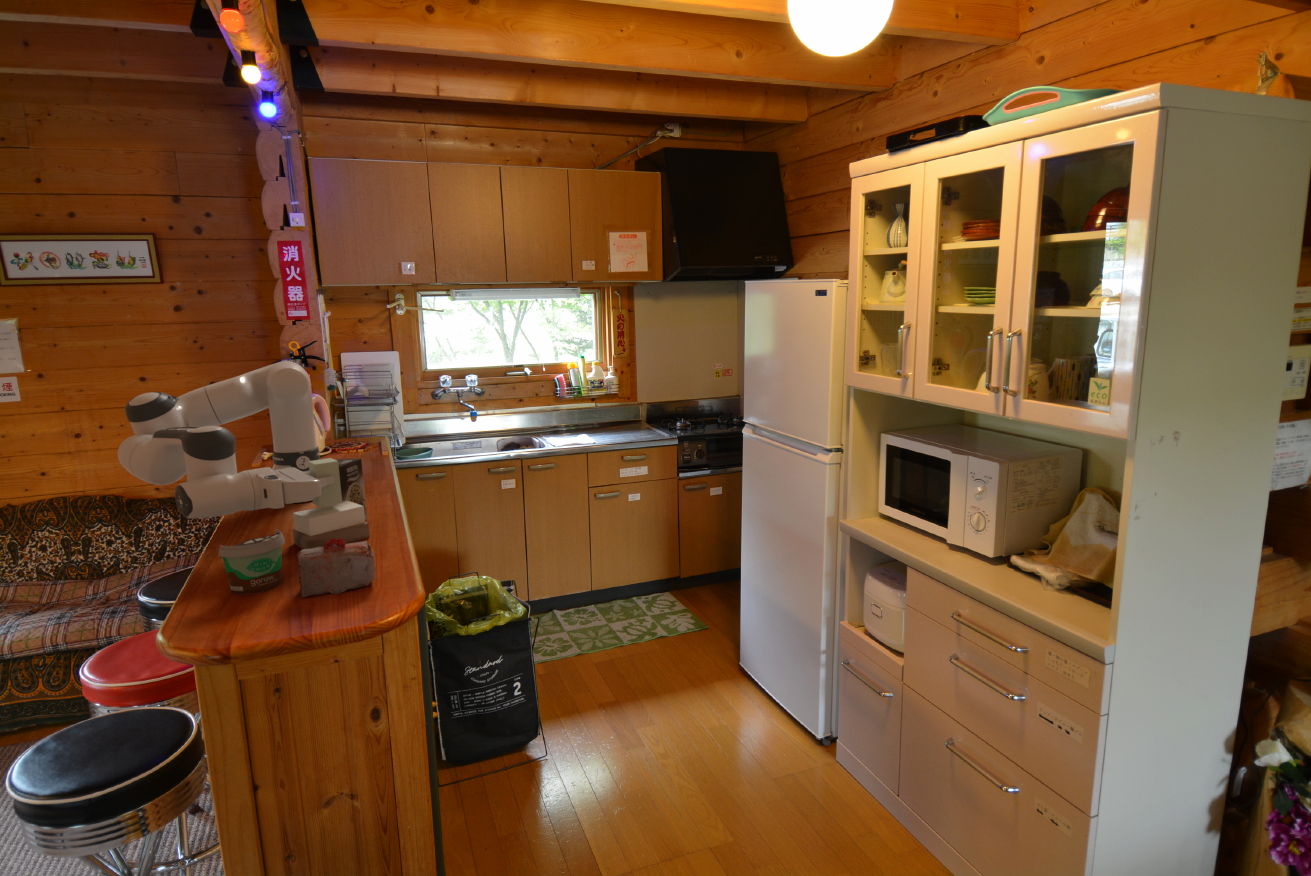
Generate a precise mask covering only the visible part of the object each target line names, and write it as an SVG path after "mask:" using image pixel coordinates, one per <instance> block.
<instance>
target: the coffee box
mask: <svg viewBox="0 0 1311 876" xmlns="http://www.w3.org/2000/svg"><path fill="white" fill-rule="evenodd" d="M336 460H337V461H338V466H339V476H340V485H341V495H342V502H343V501H350V502H353V503H356V504H359V505H362V506H364V514H365V521H367V520H368V513H367V503H366V495H365V484H364V474H363V473H364V472H363V464H362V463H363V462H362V458H339V459H336Z"/></svg>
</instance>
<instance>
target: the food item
mask: <svg viewBox="0 0 1311 876" xmlns="http://www.w3.org/2000/svg"><path fill="white" fill-rule="evenodd" d="M296 558H297V566H298V572H299V576H298V582H299V586H300V587H299V591H300V595H301V597H302V598H303V599H304V598H308V597H312V596H319V595H320V596H321V595H325V594H328V593H330V594H333V595H338V594H341V593H344V592H347V590H355V589H359V588H363V587H368V586H369V585H370V583H372V584H373V582H374V581H375V579H376V565H375V563H376V562H375V558H376V557H375V553H374V550H373V548H372V546H371V544H370V543H369V542H368V541H367V540H364V541H363V540H362V541H356V542H349V543H345V542H344V540H343V539H334V538H333V539H331V540H327V541H326V542H325V546H324V547H317V548H312V549H301V550H300V551H298V552H297V554H296Z"/></svg>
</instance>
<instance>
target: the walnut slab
mask: <svg viewBox="0 0 1311 876" xmlns="http://www.w3.org/2000/svg"><path fill="white" fill-rule="evenodd" d="M292 535H293V543H294V545H296V546H297V547H299V548H301V550H303V549H312V548H317V547H324V546H325V542H326V541H327V540H331V539H333V538H334V539H343V540H344V542H345V543H346V544H349V543H355V542H359V541H361V540H362V541H363V540H367V539H370V538H371V536H370V535H371V534H370V525H369V522H367V521H365V523H361V524H357V525H353V526H349V527H345V528H341V529H337V530H333V531H329V532H325V533H321V534H317V535H313V536H309V535H306V534H304V533H302V532H299V531H297V530H295V528H293V529H292Z"/></svg>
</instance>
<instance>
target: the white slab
mask: <svg viewBox="0 0 1311 876" xmlns="http://www.w3.org/2000/svg"><path fill="white" fill-rule="evenodd" d="M292 518H293V520H292V521H293V527H294V528H293V529H295V530H297V531H299V532H302V533H304V534H306V535H309V536H313V535H317V534H321V533H325V532H329V531H333V530H337V529H341V528H345V527H349V526H353V525H357V524H361V523H365V522H366V520H365V514H364V506H362V505H359V504H356V503H353V502H350V501H343V502H342V503H340V504H335V505H330V506H324V507H318V506H316V507H313V508H309V509H304V510H300V511H296V512H292Z"/></svg>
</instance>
